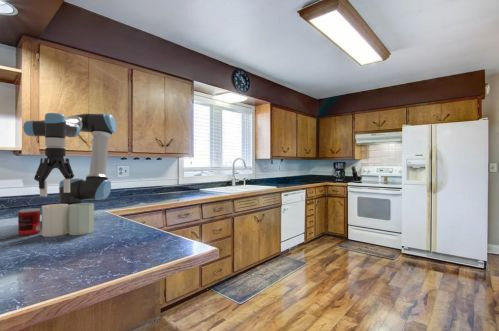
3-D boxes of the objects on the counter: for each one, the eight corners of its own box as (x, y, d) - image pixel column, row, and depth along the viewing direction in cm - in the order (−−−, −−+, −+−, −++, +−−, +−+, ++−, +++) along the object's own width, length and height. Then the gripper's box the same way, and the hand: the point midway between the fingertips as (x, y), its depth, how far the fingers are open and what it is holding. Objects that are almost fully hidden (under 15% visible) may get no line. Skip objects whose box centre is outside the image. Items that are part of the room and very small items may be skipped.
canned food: (37, 230, 127) (37, 207, 127) (42, 233, 121) (42, 209, 121) (16, 233, 121) (16, 209, 121) (20, 237, 116) (20, 211, 116)
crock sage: (78, 229, 128) (78, 203, 128) (97, 230, 127) (97, 203, 127) (63, 235, 118) (63, 206, 118) (84, 235, 118) (84, 206, 118)
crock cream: (53, 231, 125) (53, 203, 125) (73, 231, 125) (73, 203, 125) (36, 236, 116) (36, 207, 116) (57, 237, 115) (57, 207, 115)
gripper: (67, 148, 133) (68, 191, 133) (22, 146, 108) (23, 197, 108) (82, 148, 133) (82, 191, 133) (40, 146, 108) (40, 198, 108)
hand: (55, 194), depth 121 cm, fingers open, 13 cm apart
